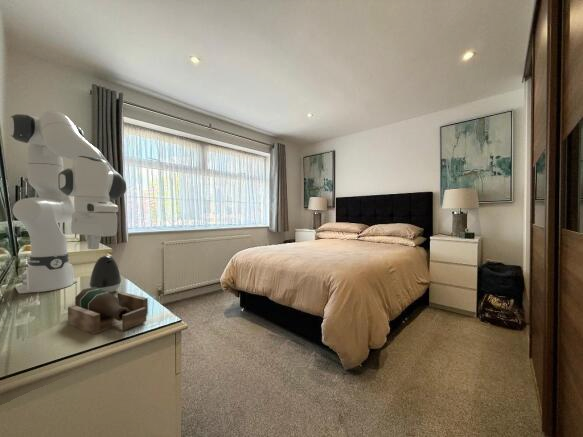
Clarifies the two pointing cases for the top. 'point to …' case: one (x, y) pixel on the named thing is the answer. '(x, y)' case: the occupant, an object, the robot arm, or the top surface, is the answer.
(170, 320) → the top surface
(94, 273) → the dark grey oval piece
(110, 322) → the u rest
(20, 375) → the top surface
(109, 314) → the beer bottle
